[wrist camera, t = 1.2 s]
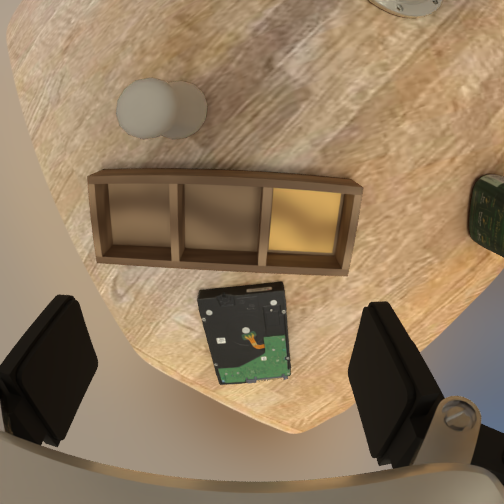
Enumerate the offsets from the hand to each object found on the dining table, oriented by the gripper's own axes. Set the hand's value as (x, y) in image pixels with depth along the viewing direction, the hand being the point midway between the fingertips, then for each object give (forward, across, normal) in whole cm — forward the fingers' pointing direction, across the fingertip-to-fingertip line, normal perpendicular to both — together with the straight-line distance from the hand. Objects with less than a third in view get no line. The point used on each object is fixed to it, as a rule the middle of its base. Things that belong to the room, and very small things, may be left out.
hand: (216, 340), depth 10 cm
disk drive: (+26, -1, +20) cm, 33 cm away
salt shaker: (+25, +6, -7) cm, 27 cm away
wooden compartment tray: (+25, +2, +4) cm, 26 cm away
